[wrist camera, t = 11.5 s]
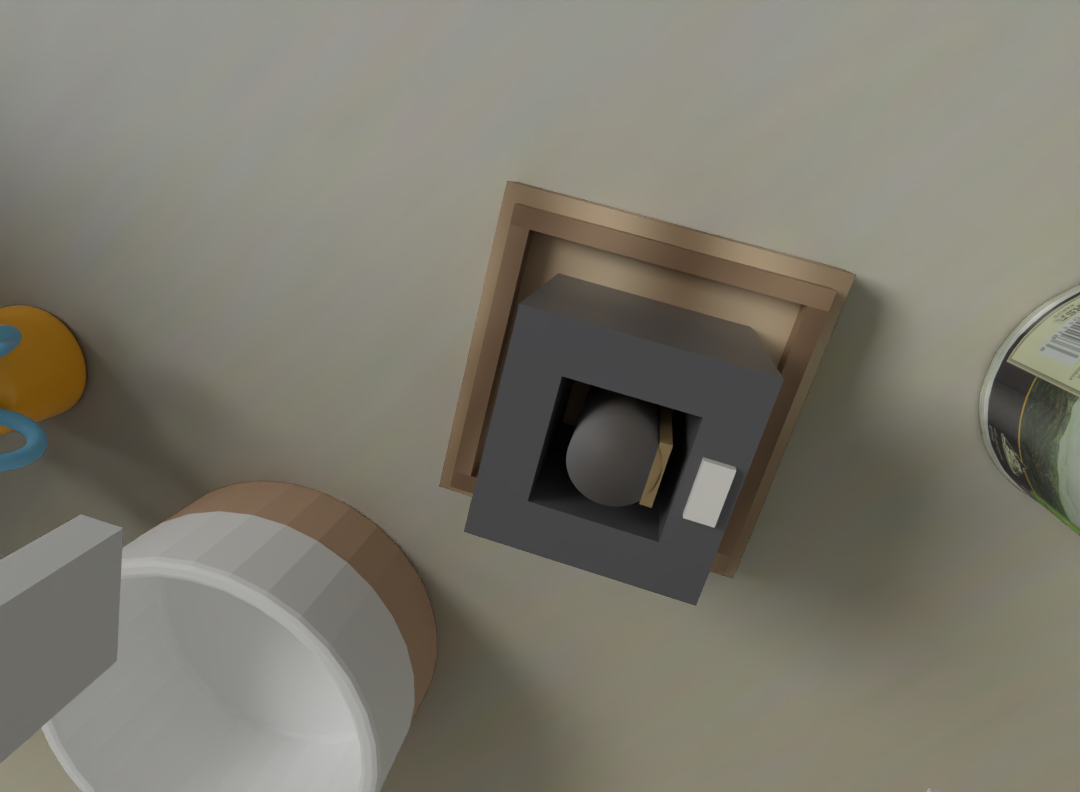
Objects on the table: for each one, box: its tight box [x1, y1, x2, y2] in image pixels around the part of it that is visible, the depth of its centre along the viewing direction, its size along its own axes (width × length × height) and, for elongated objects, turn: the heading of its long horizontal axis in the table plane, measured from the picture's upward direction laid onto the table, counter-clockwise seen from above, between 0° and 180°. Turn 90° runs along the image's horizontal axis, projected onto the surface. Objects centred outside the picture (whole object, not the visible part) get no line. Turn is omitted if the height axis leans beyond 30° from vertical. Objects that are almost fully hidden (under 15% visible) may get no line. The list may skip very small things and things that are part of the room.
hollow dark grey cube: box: [464, 273, 784, 606], centre depth 25 cm, size 8×8×8 cm
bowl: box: [41, 481, 437, 792], centre depth 34 cm, size 17×17×8 cm
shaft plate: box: [439, 181, 856, 578], centre depth 26 cm, size 14×14×10 cm
